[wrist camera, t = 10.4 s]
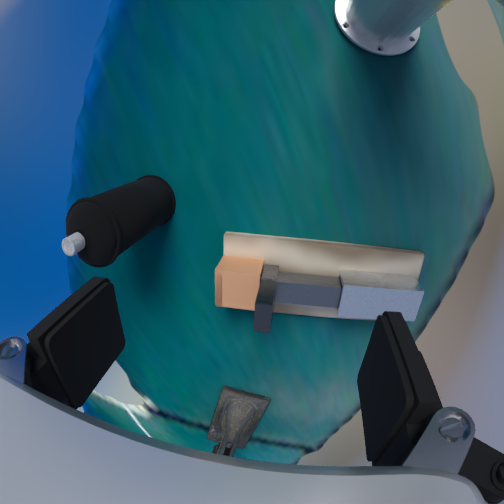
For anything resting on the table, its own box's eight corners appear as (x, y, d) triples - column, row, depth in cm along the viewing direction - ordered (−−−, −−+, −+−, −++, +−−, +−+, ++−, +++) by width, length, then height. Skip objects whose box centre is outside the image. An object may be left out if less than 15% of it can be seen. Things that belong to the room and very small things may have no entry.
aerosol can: (157, 164, 42) (68, 191, 24) (185, 210, 44) (112, 264, 26) (121, 192, 45) (32, 233, 26) (147, 235, 47) (70, 294, 28)
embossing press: (203, 432, 66) (170, 530, 38) (225, 380, 56) (182, 512, 29) (244, 445, 66) (221, 544, 38) (276, 395, 56) (255, 530, 29)
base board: (226, 231, 44) (223, 234, 43) (421, 251, 41) (424, 254, 39) (225, 301, 49) (223, 306, 48) (402, 317, 45) (404, 322, 44)
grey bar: (244, 262, 44) (228, 298, 34) (357, 273, 42) (371, 312, 32) (243, 288, 45) (228, 329, 36) (351, 299, 43) (362, 341, 34)
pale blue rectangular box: (339, 268, 42) (343, 285, 38) (413, 275, 41) (424, 291, 36) (334, 298, 44) (337, 316, 40) (405, 303, 43) (414, 321, 38)
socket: (223, 255, 44) (214, 269, 40) (264, 259, 43) (260, 274, 39) (223, 288, 46) (215, 305, 42) (262, 293, 46) (257, 311, 41)
